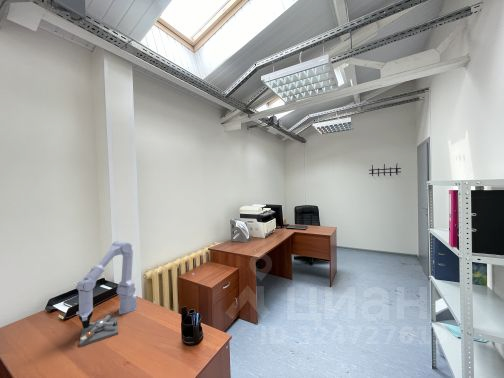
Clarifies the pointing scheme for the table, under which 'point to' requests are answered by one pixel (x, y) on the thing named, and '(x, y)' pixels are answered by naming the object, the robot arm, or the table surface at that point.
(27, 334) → the table surface
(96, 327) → the silver metal piece
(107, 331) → the stand plate
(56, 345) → the table surface
